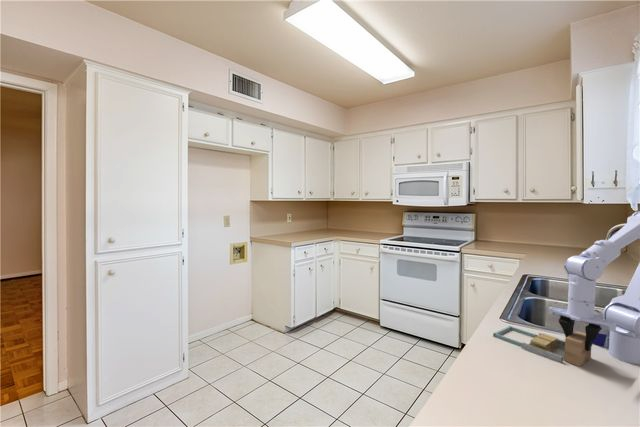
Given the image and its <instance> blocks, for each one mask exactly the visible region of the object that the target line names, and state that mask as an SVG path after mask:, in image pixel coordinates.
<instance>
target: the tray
mask: <svg viewBox="0 0 640 427" xmlns="http://www.w3.org/2000/svg"><path fill="white" fill-rule="evenodd" d="M509 331H513V332H516V333H519V334H522V335H525V336H527V337H531V338H532V339H533V338H535V337H537V336H539V334H535V333H534V332H530V331H526V330H523V329H520V328H517V327H514V326H511V325H509V326H507V327H505V328H502V329H500V330H498V331H495V332H493V333H492V334H493V335H492V336H493V337H494V338H496V339H500V340H502V341H505V342H507V343H509V344H513V345H516V346H518V347H521V345H522V343H523V342H522V341H518V340H515V339H512V338H510V337H507V336H505V335H503V334H505V333H507V332H509Z"/></svg>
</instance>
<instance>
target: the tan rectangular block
mask: <svg viewBox="0 0 640 427" xmlns="http://www.w3.org/2000/svg"><path fill="white" fill-rule="evenodd" d="M564 341H565V357H564V361H563V362H568V364H569V363H570V364H572V365H575V366H578V367H581V366H582V365H584V364H585V363H587V362H588V361H589V360H590V359H591V358H592V349H591V350H590V351H586V350H585V344H586V332H581V331H578V330H576V331H573V334H571V335H569V336H568V337H565V340H564Z"/></svg>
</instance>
